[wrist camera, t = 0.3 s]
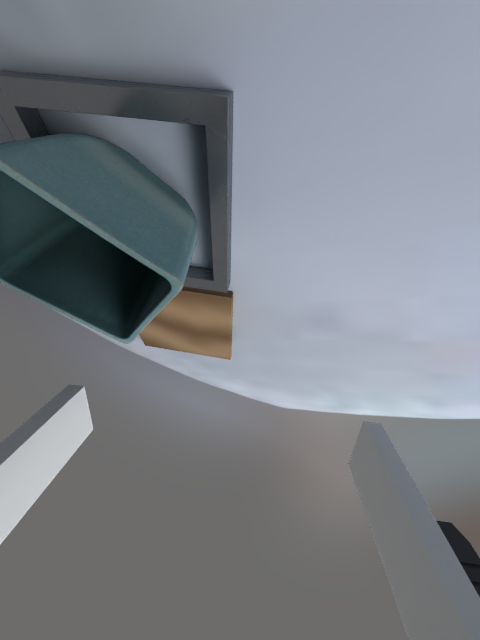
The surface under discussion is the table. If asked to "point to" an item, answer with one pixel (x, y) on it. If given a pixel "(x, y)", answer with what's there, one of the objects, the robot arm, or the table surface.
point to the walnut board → (194, 323)
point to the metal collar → (143, 103)
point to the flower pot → (91, 232)
